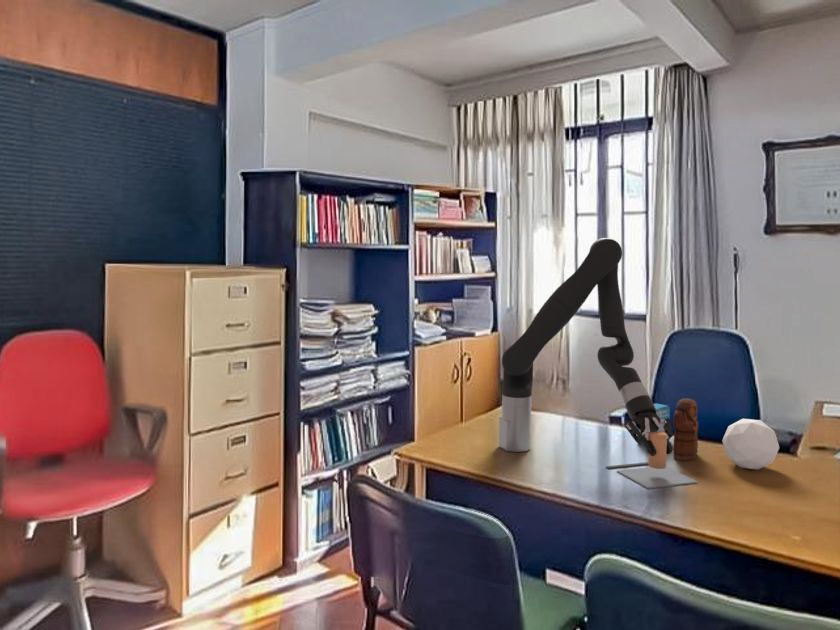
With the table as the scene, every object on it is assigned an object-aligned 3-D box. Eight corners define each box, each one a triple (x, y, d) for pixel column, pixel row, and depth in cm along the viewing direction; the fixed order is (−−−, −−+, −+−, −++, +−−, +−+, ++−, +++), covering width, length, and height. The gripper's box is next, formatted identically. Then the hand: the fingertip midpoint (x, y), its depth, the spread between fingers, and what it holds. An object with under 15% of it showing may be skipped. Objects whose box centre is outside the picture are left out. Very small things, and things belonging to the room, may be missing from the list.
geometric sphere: (763, 486, 193) (798, 454, 185) (717, 469, 192) (750, 436, 183) (750, 450, 205) (782, 419, 196) (707, 434, 203) (737, 401, 195)
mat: (644, 489, 176) (644, 487, 176) (605, 467, 193) (605, 466, 193) (700, 482, 181) (700, 481, 181) (658, 462, 198) (658, 461, 198)
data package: (648, 446, 214) (650, 410, 213) (636, 443, 218) (637, 407, 217) (668, 440, 222) (670, 405, 221) (656, 437, 225) (658, 402, 224)
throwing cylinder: (655, 469, 182) (656, 436, 181) (644, 464, 187) (646, 432, 186) (669, 467, 183) (670, 435, 183) (658, 462, 188) (660, 431, 187)
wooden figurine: (692, 463, 198) (695, 403, 196) (670, 459, 202) (672, 401, 200) (700, 453, 208) (703, 396, 206) (678, 449, 211) (681, 394, 210)
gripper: (621, 395, 188) (646, 449, 178) (664, 392, 192) (690, 445, 182) (610, 409, 194) (633, 462, 183) (652, 406, 198) (677, 458, 188)
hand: (662, 453), depth 183 cm, fingers closed on throwing cylinder, 4 cm apart
